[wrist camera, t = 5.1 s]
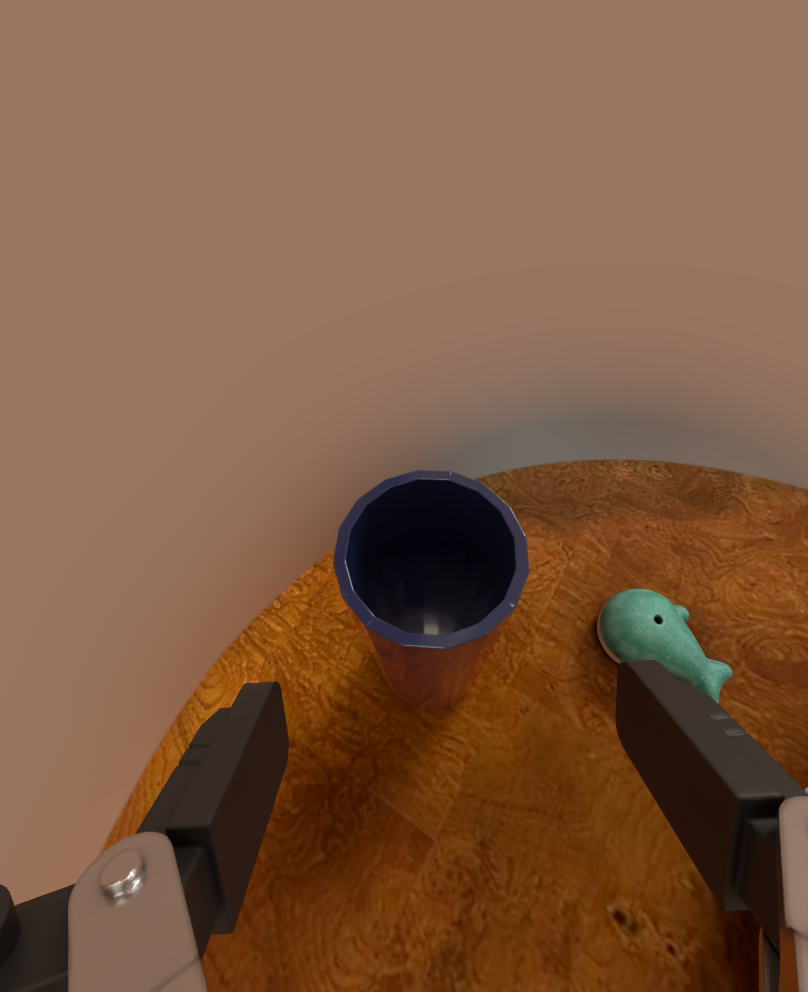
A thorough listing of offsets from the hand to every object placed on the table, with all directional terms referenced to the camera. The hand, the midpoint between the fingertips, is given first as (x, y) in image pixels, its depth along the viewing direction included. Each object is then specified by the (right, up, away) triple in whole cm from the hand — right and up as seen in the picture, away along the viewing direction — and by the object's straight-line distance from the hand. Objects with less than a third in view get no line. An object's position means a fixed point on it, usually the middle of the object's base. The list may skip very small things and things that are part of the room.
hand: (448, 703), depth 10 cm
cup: (+1, -5, +17) cm, 18 cm away
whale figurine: (+14, -5, +17) cm, 22 cm away
